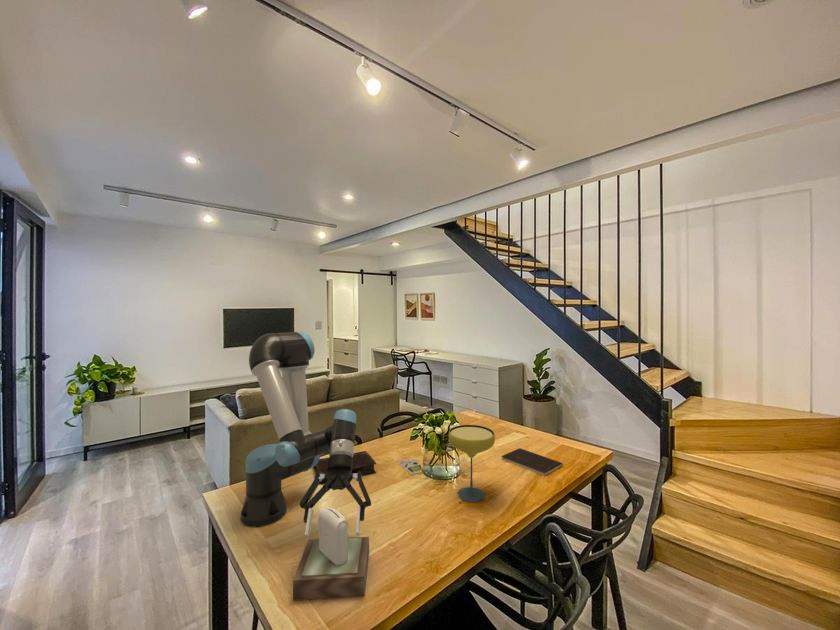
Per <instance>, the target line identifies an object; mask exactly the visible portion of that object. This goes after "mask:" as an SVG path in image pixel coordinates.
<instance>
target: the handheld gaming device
mask: <svg viewBox="0 0 840 630" xmlns="http://www.w3.org/2000/svg"><path fill="white" fill-rule="evenodd" d="M410 459H412V458H408V459H404V460H399V461H398V462H397V463H398V464H399V465H400V466H401V467H402V468H403V469H404V468H405V469H406V470H407V472H408V474H410V475H411V474H414V475H417V473H418V474H421V472H422V471H421V465H422V464H421V463H420V462H419V461H418V460H416V458H413V459H412V461H410ZM404 461H405V462H404ZM408 461H409V462H408ZM410 463H411V464H412V465H411V466H410V465H409V464H410ZM405 469H404V470H405ZM406 470H405V471H406ZM413 472H414V473H413ZM422 473H423V472H422Z"/></svg>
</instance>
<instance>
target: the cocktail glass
mask: <svg viewBox="0 0 840 630" xmlns="http://www.w3.org/2000/svg"><path fill="white" fill-rule="evenodd" d="M448 441H449V443H450V445H452V447H454V448H455V449H457V450H458V451H461V452H462V453H465V454H466V455H467V456H468V457H469V458H470V483H469V485H470V486H467V487H462V488H460V489H459V490H458V491H457V496H458V498H459V499H461V500H463V501H464V502H469V503H477V502H478V503H479V502H481V501H484V499H485V498H486V493H485V491H484V490H482V489H480V488H478V487H474V485H473V484H474V483H473V458H474V457H476V456H477V454H480V453H483V452H486V451H488V450H490V449H491V448H492V447H493V446H494V444H495V442H496V435H495V432H494V430H492V429H490V428H489V427H486V426H482V425H477V424H461V425H457V426H453V427H452V428H450V429H449V431H448Z"/></svg>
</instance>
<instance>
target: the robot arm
mask: <svg viewBox="0 0 840 630" xmlns="http://www.w3.org/2000/svg"><path fill="white" fill-rule="evenodd" d="M314 355H315V344H314V341H313V339H312V338H311V336H310V335H309V334H308V333H306V332H303V331H290V332H276V333H275V332H271V333H270V332H269V333H265V334H263V335H261V336H260V337H258V338H257V339H256V340H255V341H254V342H253V344H252V346H251V348H250V351H249V355H248V365H249V370H250V372H251V374H252V375H253V376H256V379H257V381H258V385H259V387H260V391H261V392H262V396H263V398H264V401H265V404H266V407H267V410H268V413H269V416H270V418H271V420H272V424H273V427H274V429H275V432H276V435H277V438H278V439H279V440H278V441H279V443H270V444H264V445H261V446H258V447H256V448H254V449H253V450H251V451H250V452H249V453H248V454H247V456H246V459H245V467H244V470H245V498H244V501H243V505H242V508H241V511H240V522H241V524H243V525H244V526H246V527H251V528H252V527H254V528H255V527H256V528H257V527H258V528H259V527H264V526H267V525H272V524H274V523H275V522H278V521H279V520H281V519H282V518H283V517H284V516H285V515H286V514H287V510H288V507H287V506H288V504H287V501H286V498H285V495H284V493H283V490H282V481H284V480H286V479H289V478H290V477H293V476H296V475H299V474H302V473H305V472H307V471H309V470H310V469H314V468H313V467H314V466H316V464H317V463H318V461H319V459H321V455H322V456H325V455H329V457H328V458H329V460H328V467H327V472H326V474H320V473H319V472H317V471H316V473H315V475H314V479H313V481H312V482H311V483H310V485H309V487H308V489H307V490H306V492H305V494H304V495H303V497H302V498H301V499H300V502H299V504H298V505H299V506H300V508H301V509H304V515H303V522H304V523H305V524H306V525H305V532H304V536H305V537H306V538H310V535H311V528H312V527H311V526H312V521H313V516H314V515H313V514H314V509H313V508H314V507H315V506H316V504H317V503H319V501H320V500H322V497H324V496H325V495H326V493H328V492H329V491H330V490H332V491H336V490H340V491H344V489H346V490H347V492H349V494H350V495H351V496H352V498H353V499H354V500H355V502H356V503H357V505H358V506H357V511H356V523H355V524H356V525H355V535H356V536H360V528H361V522H364V520H365V513H366V510H365V509H366V508H368V507H371V506H372V500H371V498H370V495H369V492H368V490H367V488H366V486H365V483H364V481H363V476H362V474H361V472H360V471H359V472H358V473H354V474H353V473H352V465H353V458H352V457H353V454H354V453H355V441H356V440H355V439H356V432H357V425H358V424H357V414H356V412H355V411H353V410H351V409H346V408H342V409H338V410H336V411H335V412H334V416H333V422H332V423H331V424H330V425H328V426H327V427H326V428H323V429H321V430H318V431H315V432H311V431H310V427H309V409H308V393H307V391H308V390H307V377H306V369H307V368H308V367H309V366H310V362H309V361H311V360H312V359H313V357H314ZM323 479H325V480H326V483H325V484H322V485H323V486H322V487H321V488H320V489H319V490H318V491H317V492H316V493H315V491H316V490H317V489H318V486H320V484H319V483H320V482H321V481H322V480H323ZM353 479H354V480H355V481H356V482H358V485H359V488H360V491H361V493H362V495H363V498H364V500H365V501H364V500H363V498H361V496H360V495H359V493H358V492H357V491H356V489H355V488H354V487H353V486H352V483H351V482H352V480H353ZM314 493H315V494H314Z"/></svg>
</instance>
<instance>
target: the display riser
mask: <svg viewBox="0 0 840 630" xmlns="http://www.w3.org/2000/svg"><path fill="white" fill-rule="evenodd" d="M369 556H370V536H357V537H356V536H355V537H354V536H353V537H348V559H347V561H346V562H345V563H344V564H342V565H336V564H334V563H333V562H332V561H330V560H329V559H328V558H327V557H326V556H325V555H324V554H323V553H322V552H321V551H320V549H319V538H314V539H313V538H311V539H310V538H309V539H307V541H306V545H305V547H304V549H303V553H302V555H301V557H300V561H299V563H298V566H297V568H296V572H295V574H294V577H293V579H292V600H293V601H295V600H296V599H297V600H299V601H300V600H314V599H329V598H330V599H331V598H332V599H333V598H348V597H349V598H352V597H363V596H365V595H366V585H367V576H368V568H369V558H370V557H369ZM294 599H295V600H294Z"/></svg>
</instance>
